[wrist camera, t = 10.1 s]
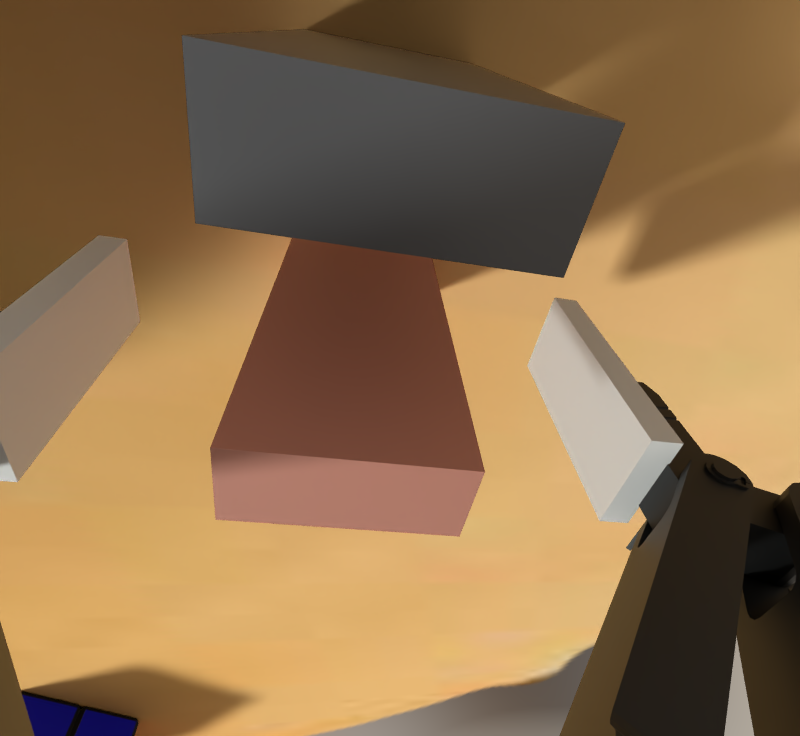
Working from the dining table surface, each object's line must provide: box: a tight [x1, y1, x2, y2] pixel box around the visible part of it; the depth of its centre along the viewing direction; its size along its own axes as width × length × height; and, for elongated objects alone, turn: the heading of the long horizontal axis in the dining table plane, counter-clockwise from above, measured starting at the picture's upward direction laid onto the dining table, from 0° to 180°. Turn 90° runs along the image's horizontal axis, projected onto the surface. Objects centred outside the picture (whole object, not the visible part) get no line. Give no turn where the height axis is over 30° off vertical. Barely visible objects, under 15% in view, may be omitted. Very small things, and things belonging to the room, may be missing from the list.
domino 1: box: [182, 29, 625, 278], centre depth 10 cm, size 5×2×11 cm, turn 80°
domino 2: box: [210, 238, 485, 536], centre depth 14 cm, size 5×2×11 cm, turn 80°
